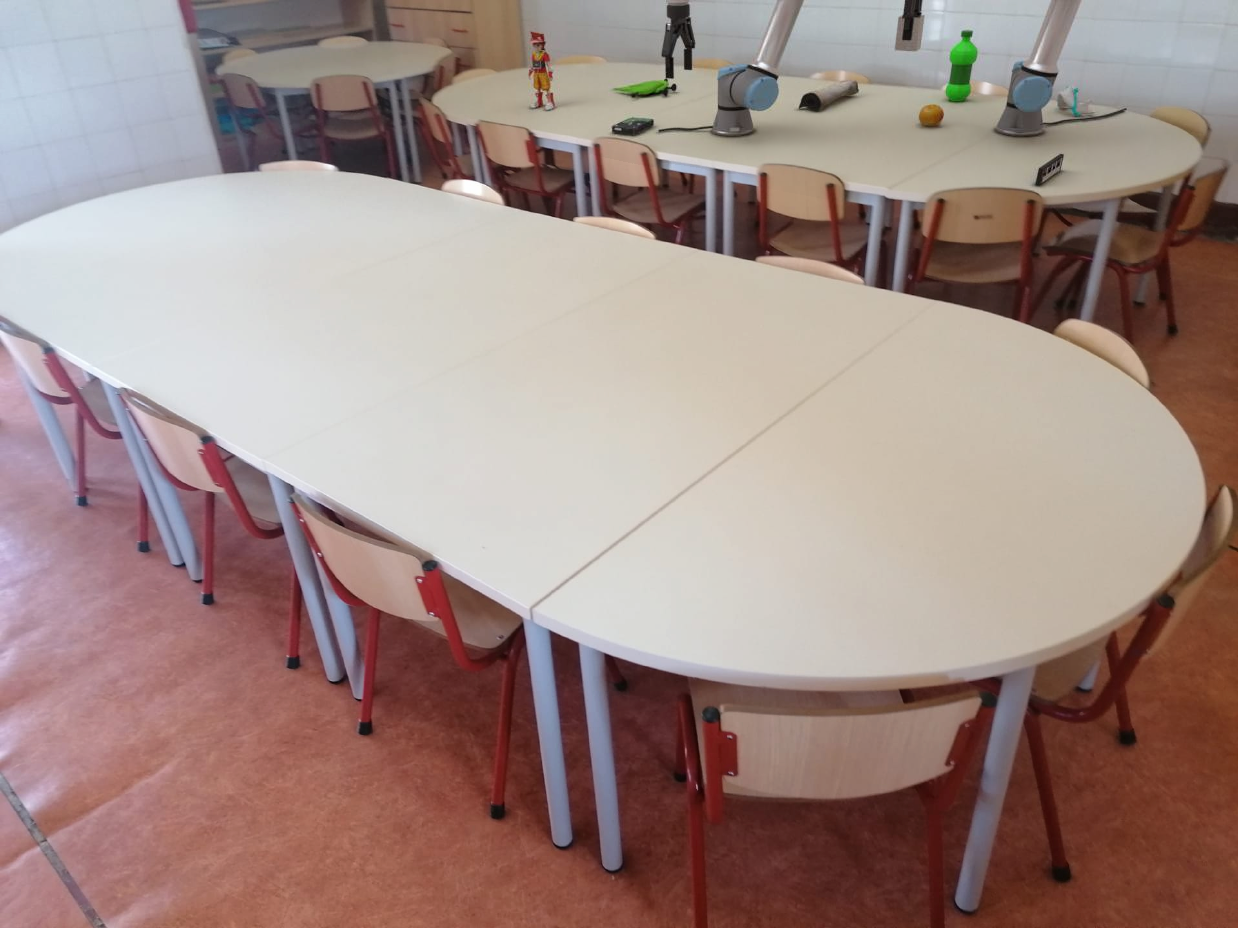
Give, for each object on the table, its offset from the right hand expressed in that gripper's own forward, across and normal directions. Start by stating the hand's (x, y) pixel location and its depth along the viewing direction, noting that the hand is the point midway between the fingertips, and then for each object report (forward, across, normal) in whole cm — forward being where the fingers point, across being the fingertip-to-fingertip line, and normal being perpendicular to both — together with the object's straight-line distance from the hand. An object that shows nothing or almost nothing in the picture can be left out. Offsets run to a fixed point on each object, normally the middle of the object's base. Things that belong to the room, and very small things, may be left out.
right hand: (909, 38), depth 300 cm
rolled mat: (+33, +41, +40) cm, 66 cm away
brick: (+3, 0, 0) cm, 3 cm away
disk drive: (+33, -23, +95) cm, 103 cm away
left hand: (+6, -44, +64) cm, 78 cm away
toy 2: (+33, +33, +124) cm, 133 cm away
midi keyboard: (+32, -27, -55) cm, 69 cm away
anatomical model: (+32, +55, -49) cm, 80 cm away
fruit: (+32, +20, -6) cm, 39 cm away
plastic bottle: (+32, +60, -6) cm, 69 cm away
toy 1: (+33, -5, +151) cm, 155 cm away
